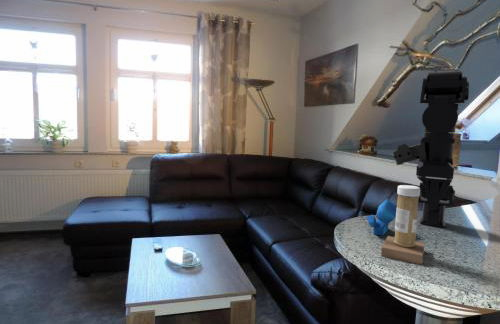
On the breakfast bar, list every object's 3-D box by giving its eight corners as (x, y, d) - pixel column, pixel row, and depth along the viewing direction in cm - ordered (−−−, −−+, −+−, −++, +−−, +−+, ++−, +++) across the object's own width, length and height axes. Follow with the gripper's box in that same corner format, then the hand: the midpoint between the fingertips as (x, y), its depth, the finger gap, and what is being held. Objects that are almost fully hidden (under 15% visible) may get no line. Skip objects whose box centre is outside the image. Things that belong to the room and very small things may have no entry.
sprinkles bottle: (419, 247, 73) (425, 188, 71) (400, 248, 72) (405, 188, 71) (407, 240, 77) (412, 184, 76) (389, 241, 77) (393, 184, 75)
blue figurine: (363, 210, 85) (373, 192, 94) (362, 239, 88) (373, 219, 97) (394, 215, 81) (401, 196, 90) (392, 246, 84) (400, 224, 93)
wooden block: (387, 243, 80) (387, 235, 80) (424, 250, 76) (424, 242, 76) (381, 256, 73) (381, 247, 73) (421, 264, 69) (422, 255, 68)
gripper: (402, 131, 81) (397, 193, 83) (391, 132, 65) (385, 208, 67) (455, 132, 75) (449, 199, 77) (457, 134, 59) (449, 218, 61)
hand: (432, 205), depth 71 cm, fingers open, 9 cm apart
